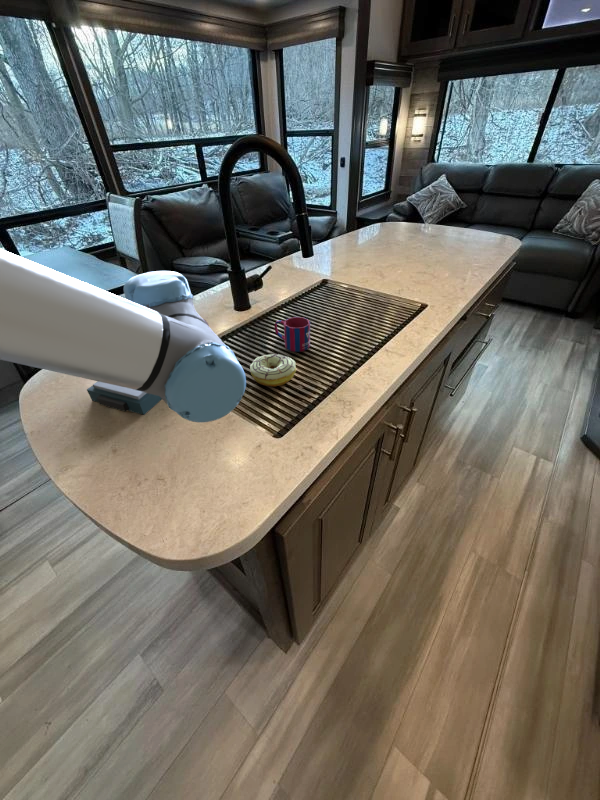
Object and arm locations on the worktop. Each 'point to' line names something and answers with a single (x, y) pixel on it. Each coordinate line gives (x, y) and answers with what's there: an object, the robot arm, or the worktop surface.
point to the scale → (122, 398)
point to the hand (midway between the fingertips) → (106, 316)
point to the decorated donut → (273, 369)
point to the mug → (295, 333)
